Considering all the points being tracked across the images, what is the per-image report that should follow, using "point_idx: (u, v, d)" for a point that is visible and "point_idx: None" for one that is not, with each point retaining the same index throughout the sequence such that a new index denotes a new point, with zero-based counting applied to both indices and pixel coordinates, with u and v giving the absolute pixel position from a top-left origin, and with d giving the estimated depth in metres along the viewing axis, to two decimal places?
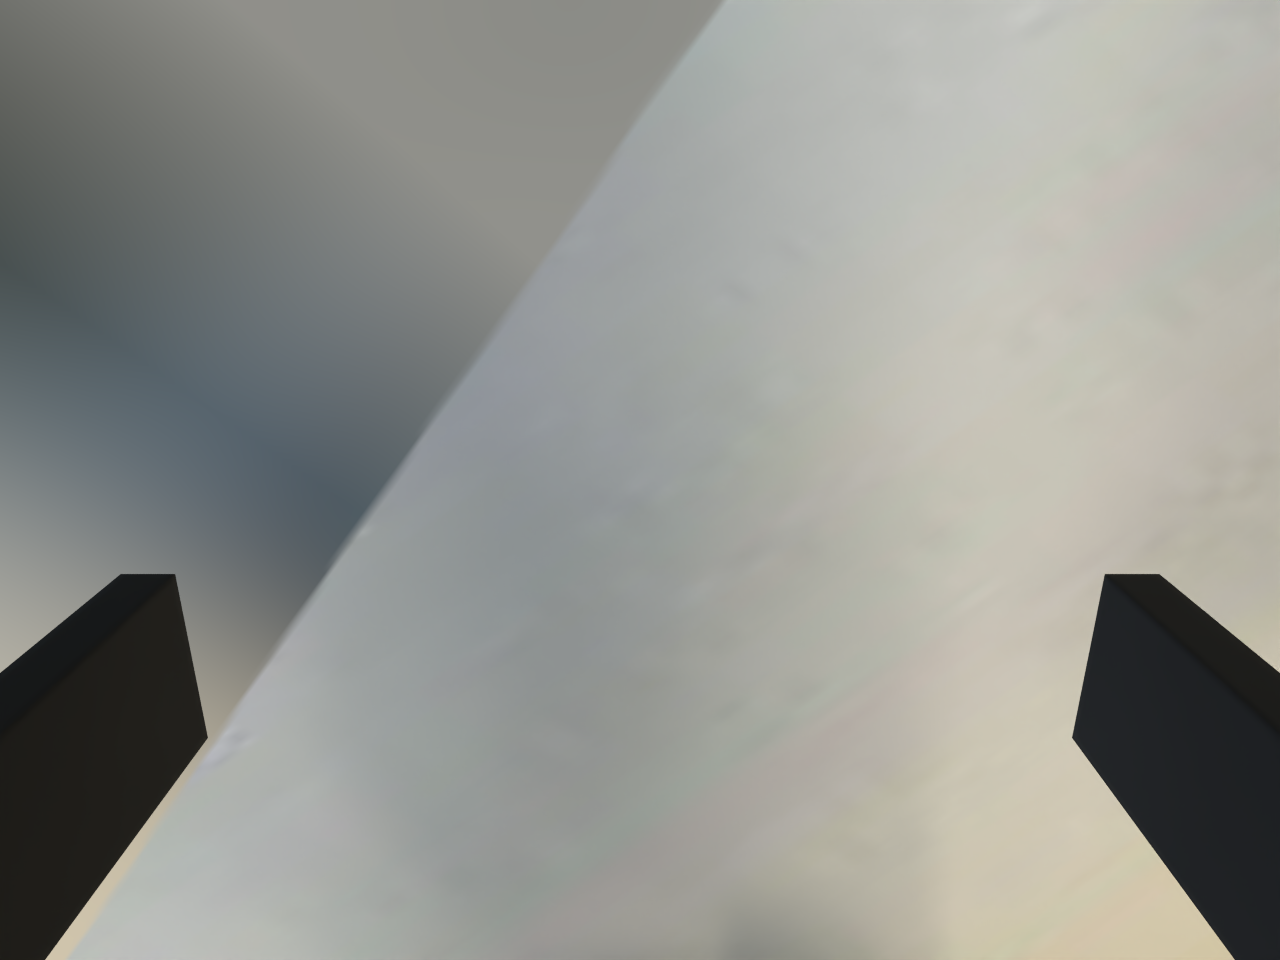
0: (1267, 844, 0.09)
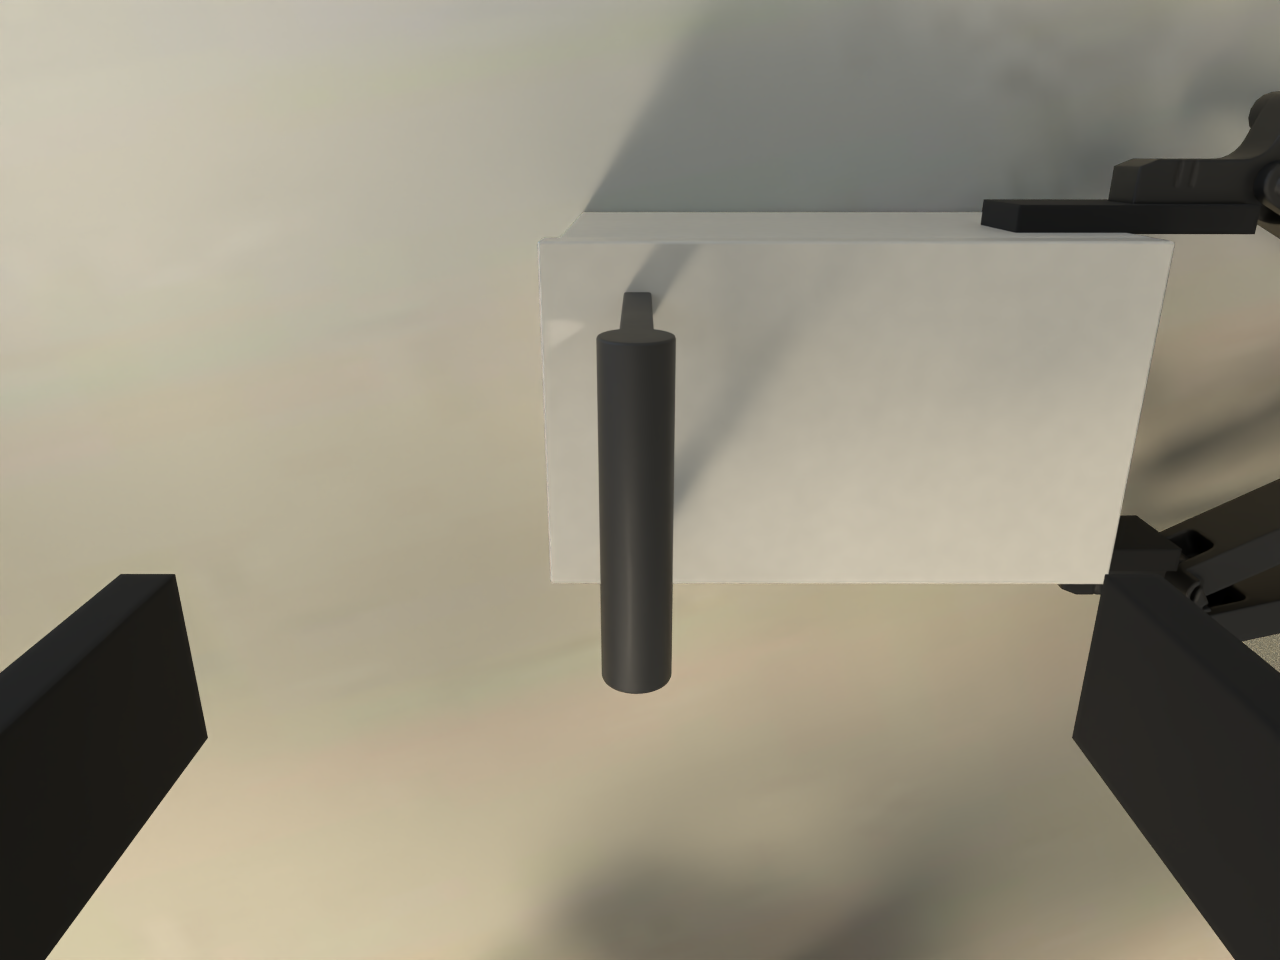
0: (1267, 844, 0.09)
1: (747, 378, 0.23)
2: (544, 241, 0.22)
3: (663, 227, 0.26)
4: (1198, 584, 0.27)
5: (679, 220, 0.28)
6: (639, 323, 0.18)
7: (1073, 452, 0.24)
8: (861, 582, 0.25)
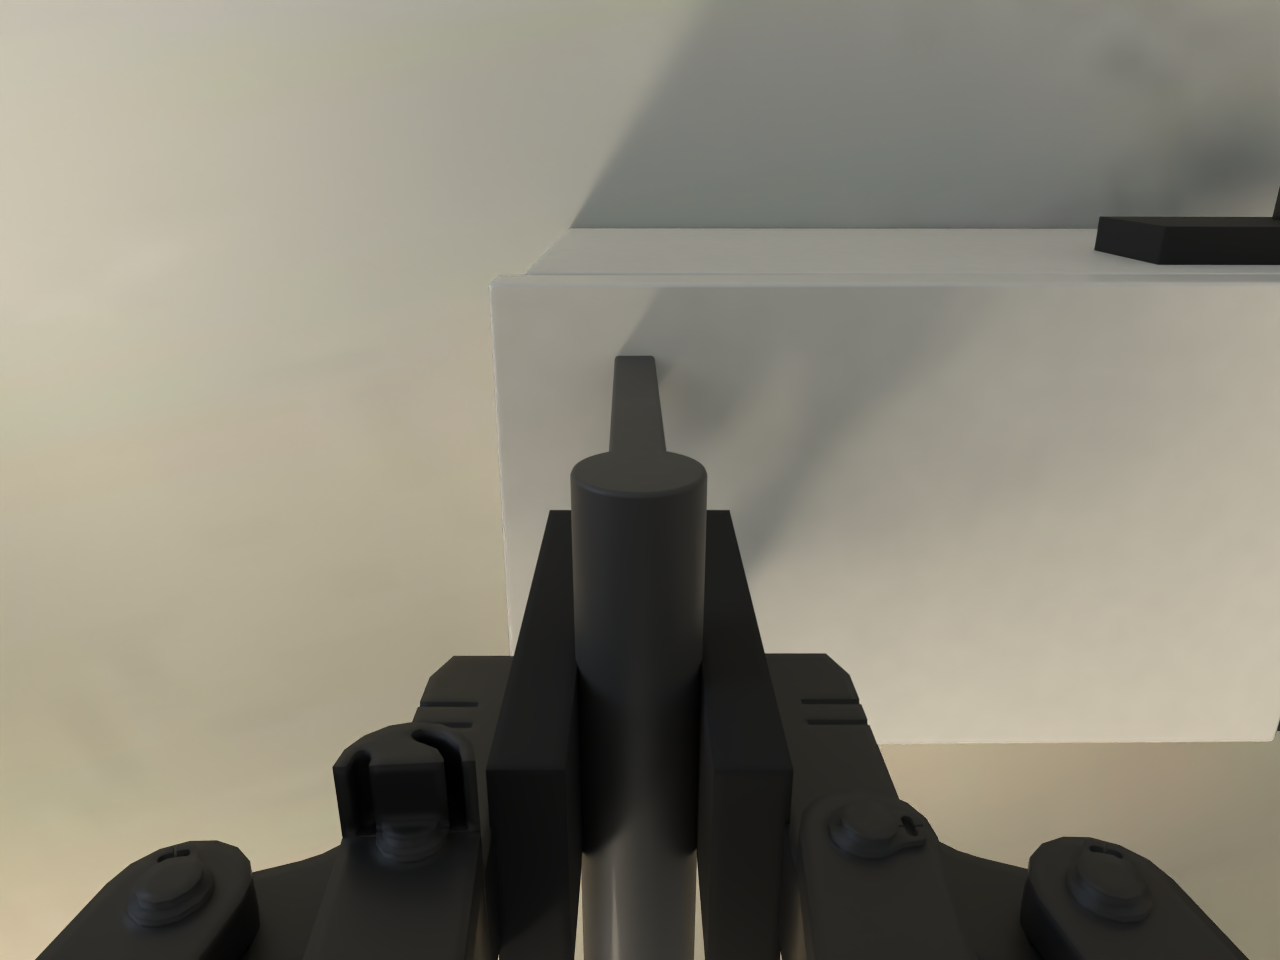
0: None
1: (791, 474, 0.16)
2: (499, 283, 0.15)
3: (670, 254, 0.19)
4: None
5: (691, 242, 0.22)
6: (641, 428, 0.12)
7: (1241, 572, 0.17)
8: (941, 742, 0.19)
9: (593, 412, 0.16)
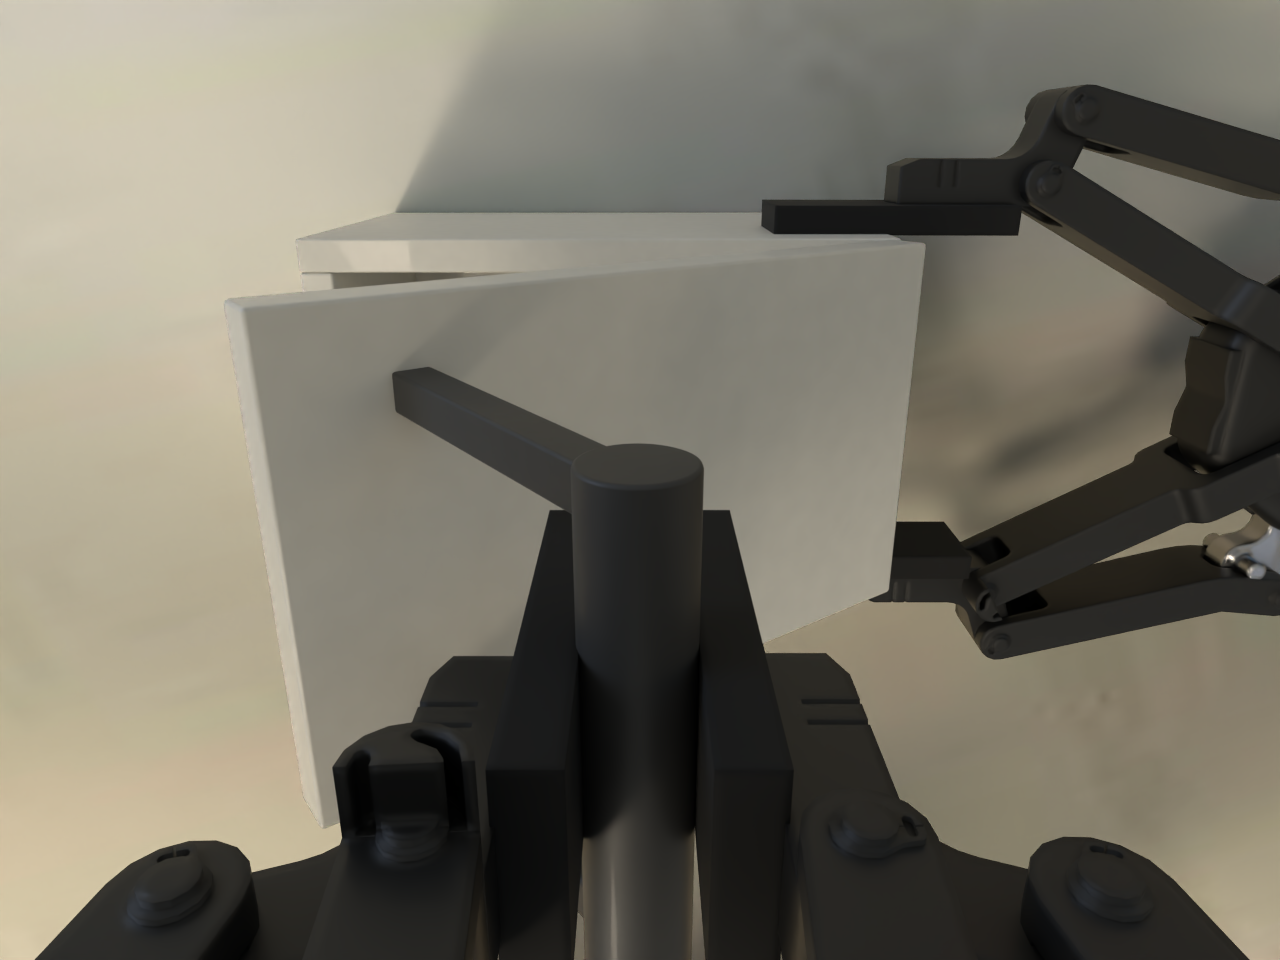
0: None
1: None
2: (251, 307, 0.13)
3: (429, 229, 0.25)
4: (987, 592, 0.27)
5: (466, 221, 0.28)
6: (549, 431, 0.12)
7: (862, 470, 0.23)
8: None
9: (373, 436, 0.15)
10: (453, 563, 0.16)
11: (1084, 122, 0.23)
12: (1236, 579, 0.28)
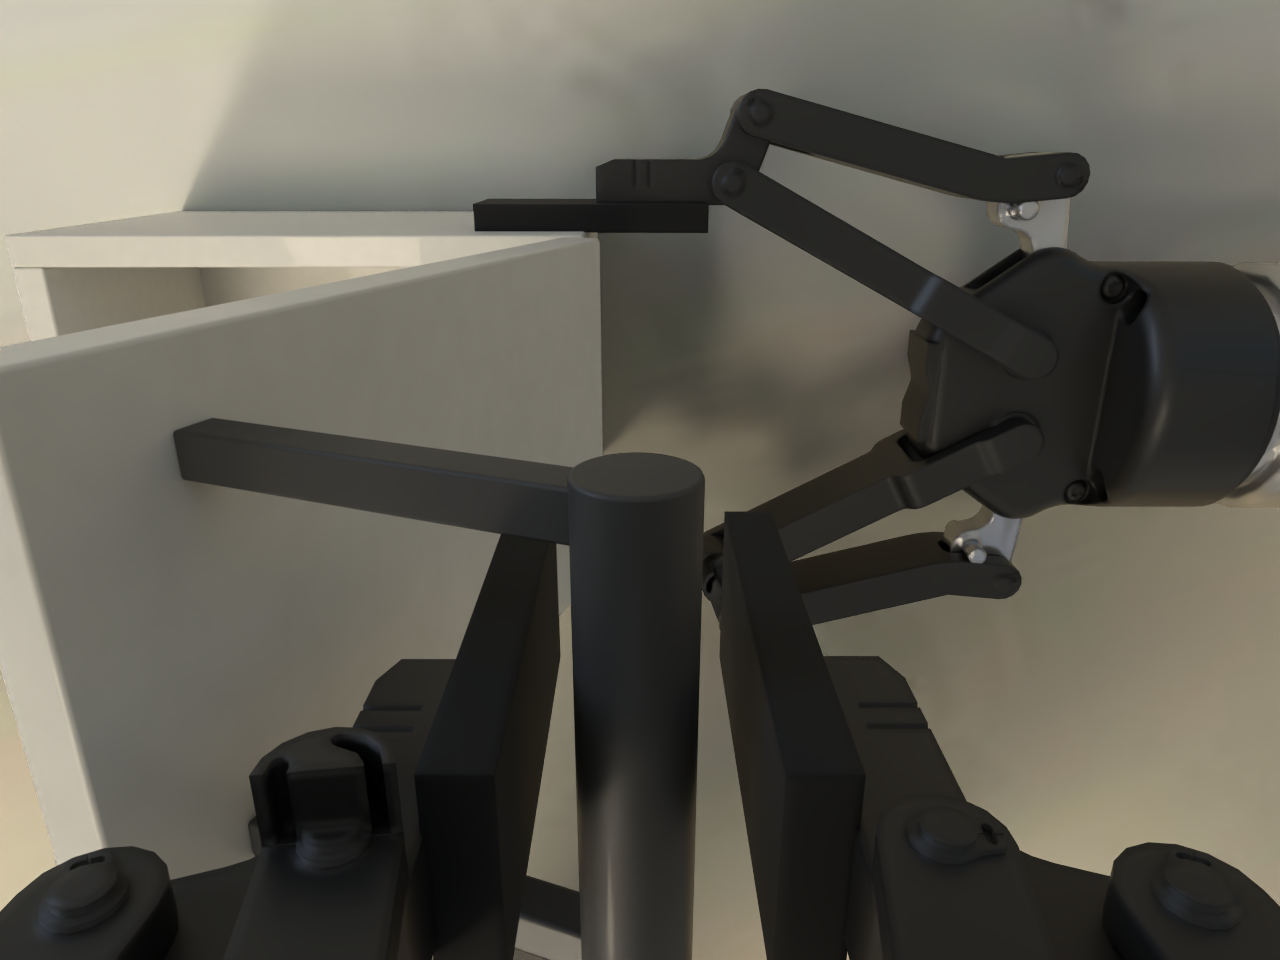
0: (749, 713, 0.11)
1: None
2: None
3: (162, 226, 0.27)
4: (712, 575, 0.28)
5: (221, 219, 0.29)
6: (479, 461, 0.10)
7: (578, 459, 0.24)
8: None
9: (159, 515, 0.12)
10: (259, 648, 0.14)
11: (759, 124, 0.24)
12: (959, 563, 0.29)
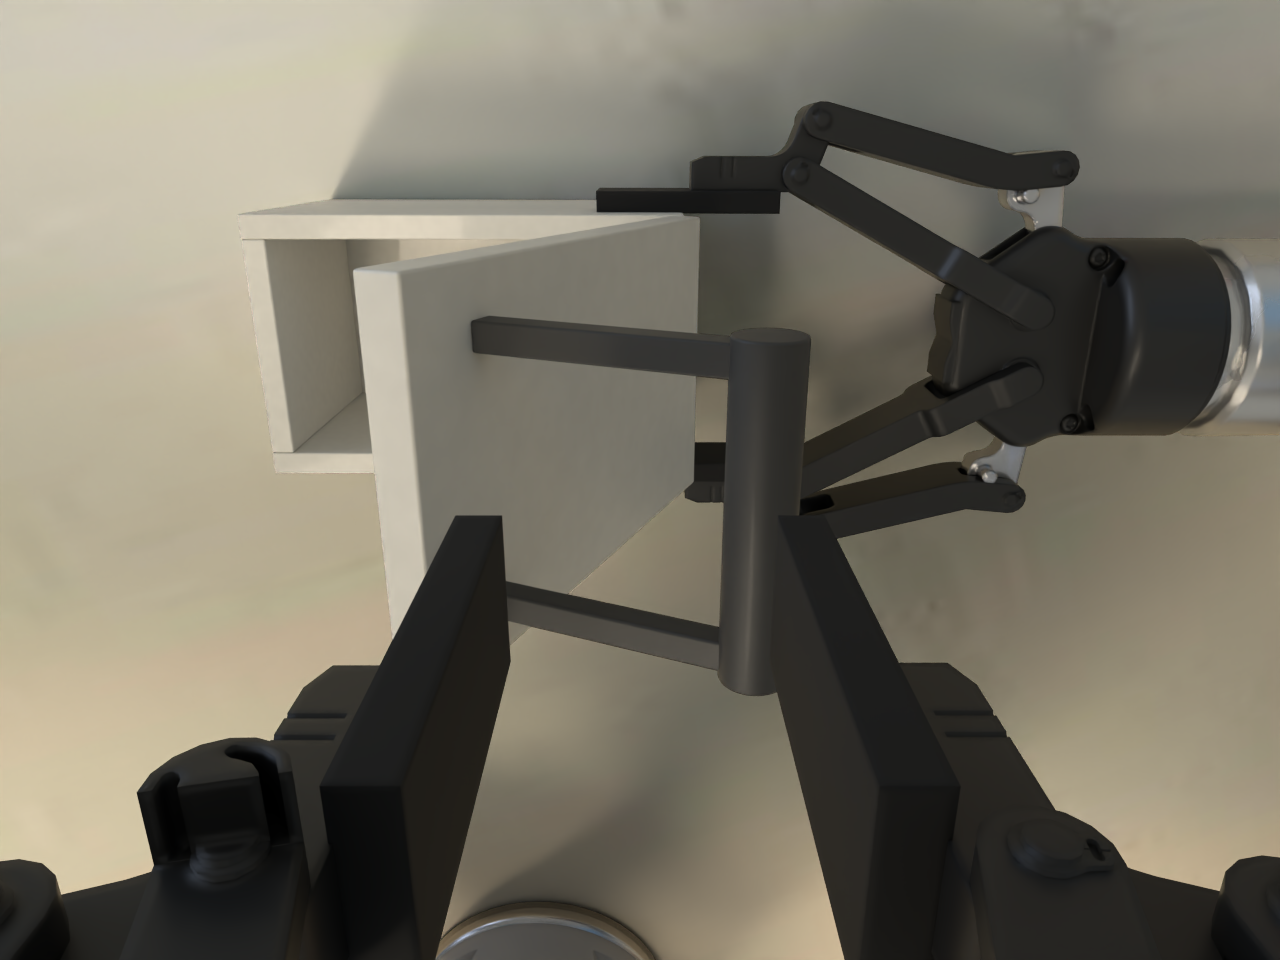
0: (817, 720, 0.11)
1: (549, 389, 0.22)
2: (401, 270, 0.17)
3: (343, 208, 0.33)
4: None
5: (378, 204, 0.36)
6: (671, 333, 0.17)
7: (680, 388, 0.30)
8: (612, 552, 0.27)
9: (461, 373, 0.19)
10: (500, 474, 0.21)
11: (821, 129, 0.31)
12: (975, 483, 0.36)
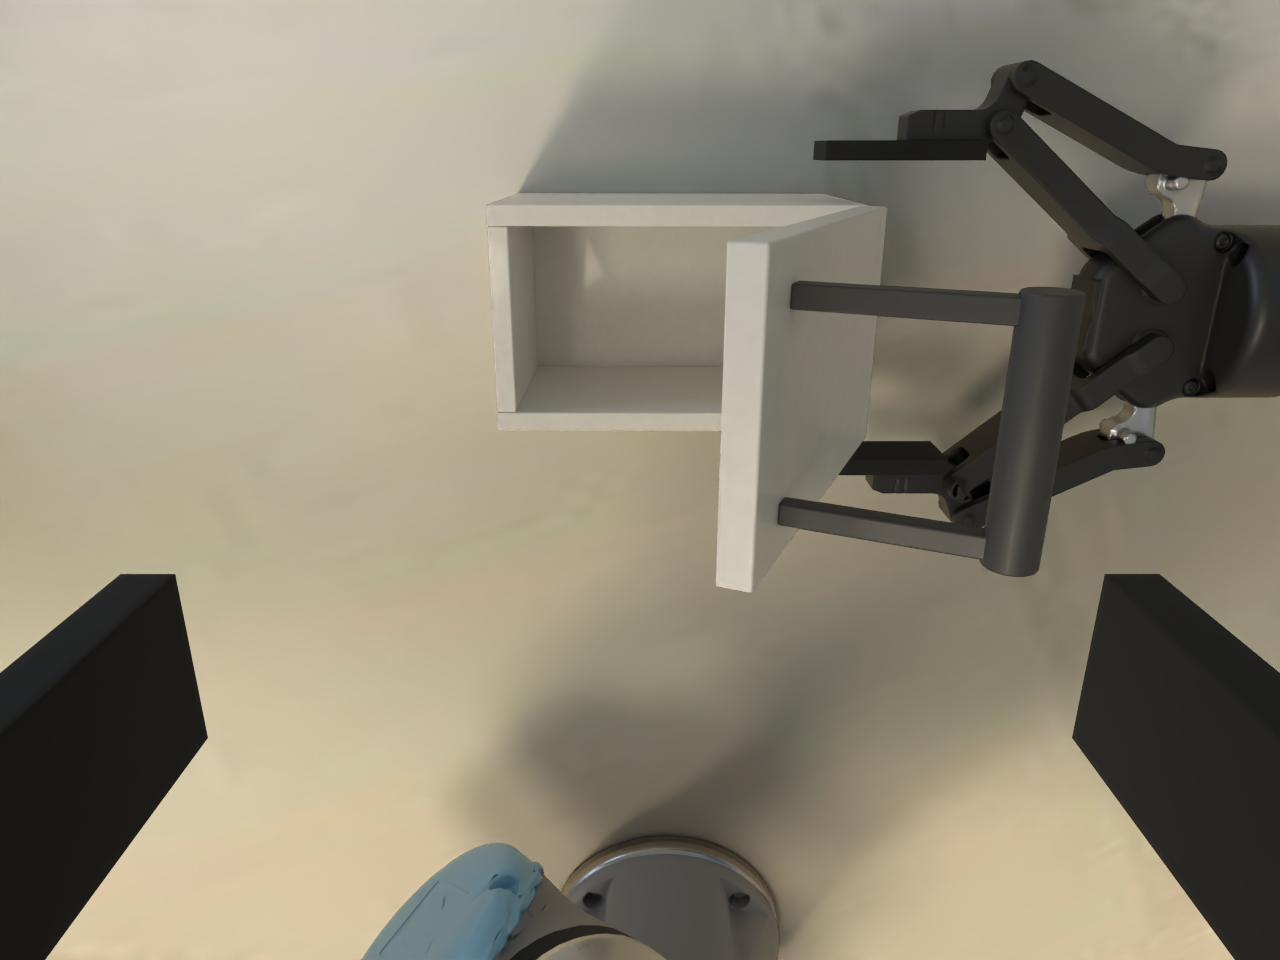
0: (1268, 845, 0.09)
1: (815, 343, 0.27)
2: (769, 242, 0.22)
3: (560, 200, 0.39)
4: (956, 484, 0.41)
5: (578, 197, 0.41)
6: (965, 291, 0.22)
7: (866, 353, 0.36)
8: None
9: (784, 325, 0.24)
10: (791, 409, 0.26)
11: (1026, 84, 0.35)
12: (1117, 446, 0.41)
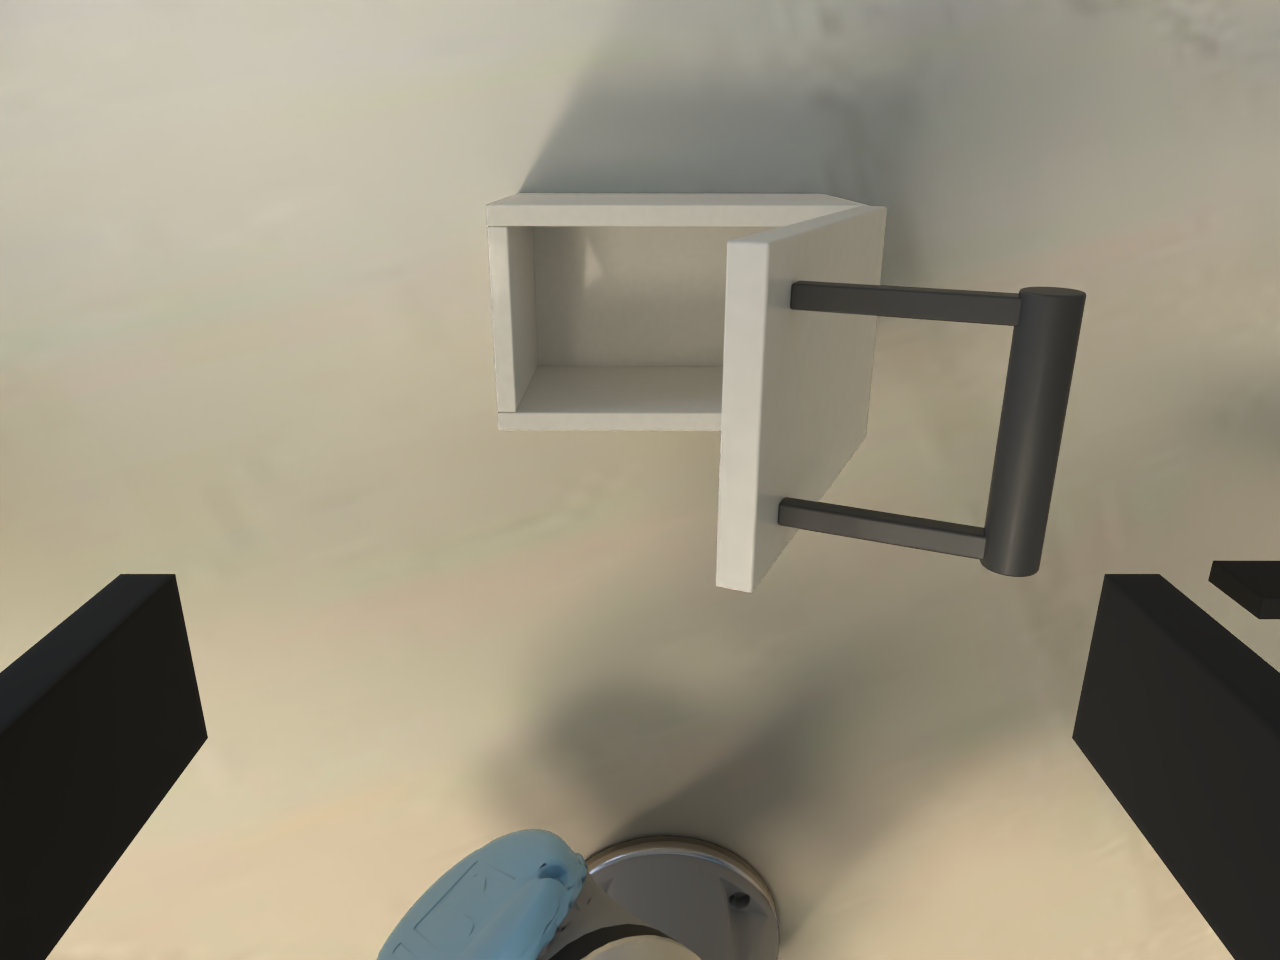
0: (1268, 845, 0.09)
1: (815, 343, 0.27)
2: (769, 242, 0.22)
3: (560, 200, 0.39)
4: None
5: (578, 197, 0.41)
6: (965, 291, 0.22)
7: (866, 353, 0.36)
8: None
9: (784, 324, 0.24)
10: (791, 409, 0.26)
11: None
12: None
